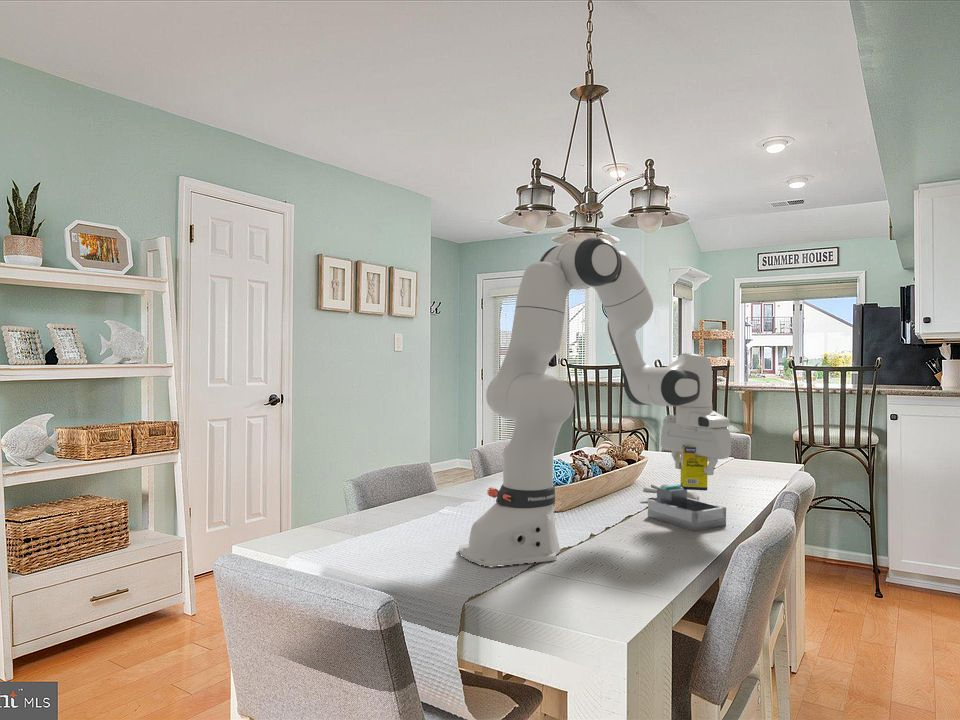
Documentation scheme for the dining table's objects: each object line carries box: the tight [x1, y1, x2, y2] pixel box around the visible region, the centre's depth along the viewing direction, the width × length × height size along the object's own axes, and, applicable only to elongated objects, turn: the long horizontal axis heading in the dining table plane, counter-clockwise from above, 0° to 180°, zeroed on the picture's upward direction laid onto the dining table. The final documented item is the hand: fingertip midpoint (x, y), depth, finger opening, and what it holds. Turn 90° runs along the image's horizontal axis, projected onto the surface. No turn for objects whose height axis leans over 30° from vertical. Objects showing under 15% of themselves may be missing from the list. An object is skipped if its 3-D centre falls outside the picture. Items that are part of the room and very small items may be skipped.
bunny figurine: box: [642, 482, 701, 501], centre depth 190 cm, size 10×5×15 cm
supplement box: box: [679, 445, 708, 491], centre depth 167 cm, size 6×6×11 cm
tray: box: [647, 484, 727, 532], centre depth 169 cm, size 11×16×8 cm
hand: (693, 471), depth 167 cm, fingers closed on supplement box, 8 cm apart
